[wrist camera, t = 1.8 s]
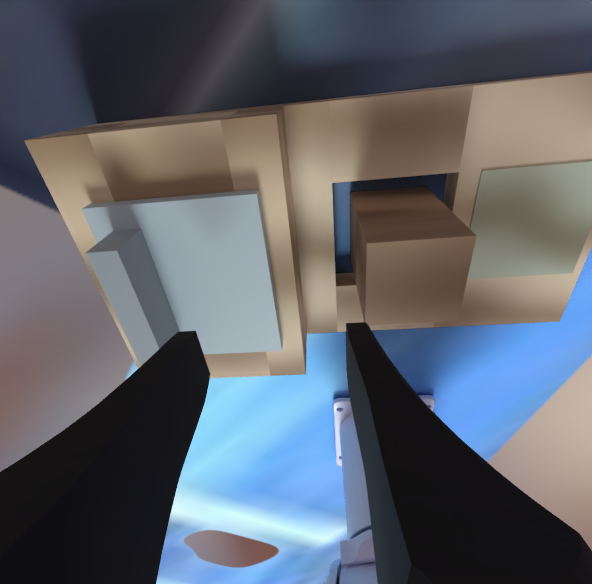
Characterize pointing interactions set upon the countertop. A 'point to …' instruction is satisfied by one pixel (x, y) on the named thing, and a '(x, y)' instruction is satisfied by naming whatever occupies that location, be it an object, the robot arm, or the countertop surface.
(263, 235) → the lid
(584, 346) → the countertop surface
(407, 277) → the walnut block
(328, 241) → the puzzle board
